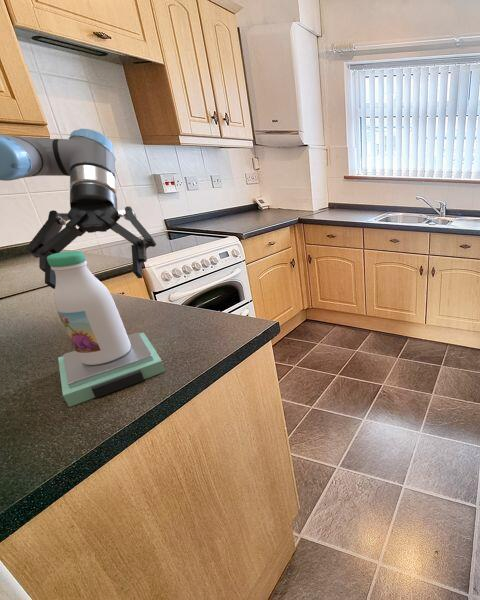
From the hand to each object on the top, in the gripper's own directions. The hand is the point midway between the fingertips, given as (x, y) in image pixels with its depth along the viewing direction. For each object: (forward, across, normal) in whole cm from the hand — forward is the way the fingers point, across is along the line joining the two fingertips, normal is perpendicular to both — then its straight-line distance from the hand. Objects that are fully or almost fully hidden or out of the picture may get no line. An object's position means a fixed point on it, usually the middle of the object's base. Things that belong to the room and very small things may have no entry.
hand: (96, 280), depth 66 cm
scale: (+17, 0, -5) cm, 18 cm away
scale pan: (+15, 0, -4) cm, 16 cm away
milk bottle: (+15, 0, -3) cm, 15 cm away
